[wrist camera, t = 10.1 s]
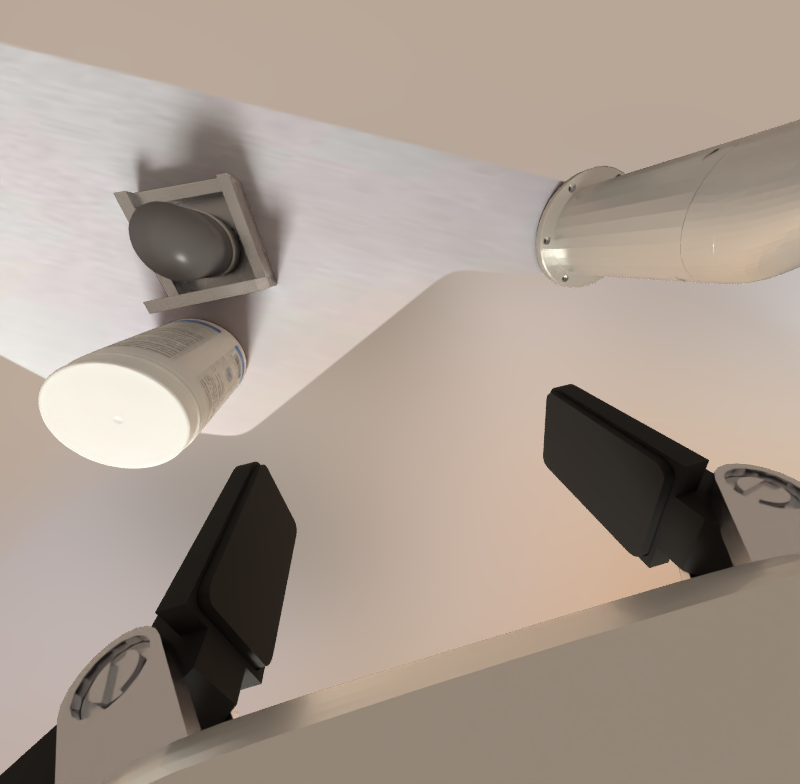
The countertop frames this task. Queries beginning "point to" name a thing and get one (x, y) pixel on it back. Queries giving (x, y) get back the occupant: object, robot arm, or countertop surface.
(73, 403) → the supplement tub
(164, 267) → the grey rounded-end cylinder
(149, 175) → the countertop surface
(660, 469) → the robot arm
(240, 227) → the open square box
